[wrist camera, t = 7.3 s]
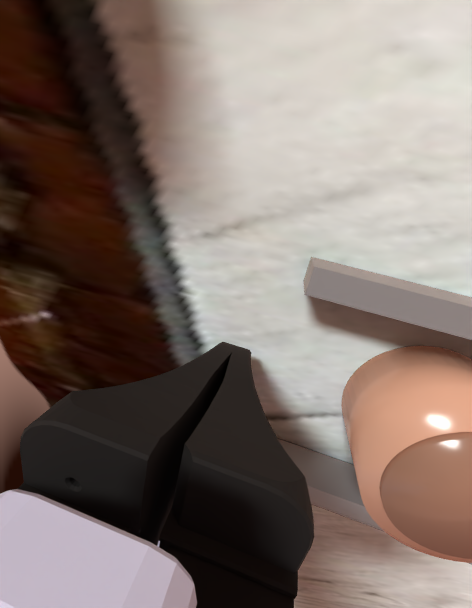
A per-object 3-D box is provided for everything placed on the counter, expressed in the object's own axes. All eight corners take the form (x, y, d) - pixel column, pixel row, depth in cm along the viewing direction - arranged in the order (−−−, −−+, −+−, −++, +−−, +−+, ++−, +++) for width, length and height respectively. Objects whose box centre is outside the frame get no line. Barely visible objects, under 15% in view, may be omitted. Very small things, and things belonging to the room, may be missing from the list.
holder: (468, 521, 13) (496, 573, 11) (250, 444, 14) (243, 478, 12) (629, 337, 9) (714, 369, 7) (311, 256, 10) (313, 266, 9)
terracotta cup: (434, 478, 13) (497, 598, 9) (318, 422, 13) (326, 512, 9) (534, 385, 10) (679, 492, 6) (388, 321, 11) (440, 384, 7)
